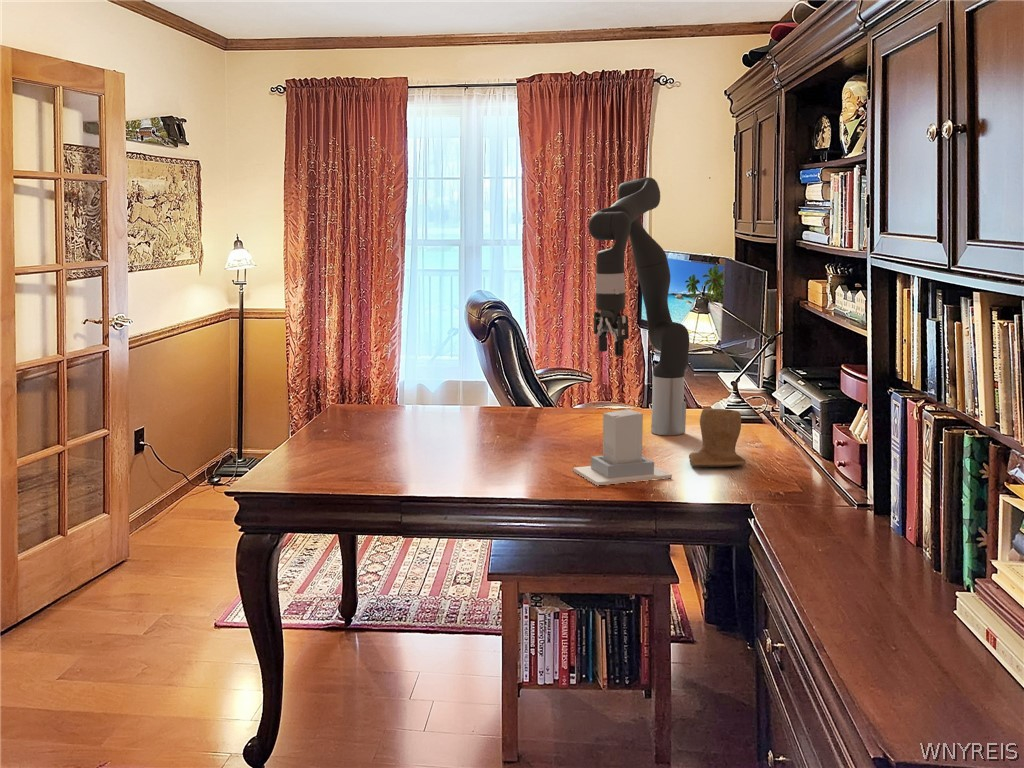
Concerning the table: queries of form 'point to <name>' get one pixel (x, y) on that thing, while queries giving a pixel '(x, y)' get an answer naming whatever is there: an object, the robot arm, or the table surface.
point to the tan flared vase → (718, 439)
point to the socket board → (620, 471)
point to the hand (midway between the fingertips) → (610, 353)
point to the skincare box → (622, 437)
